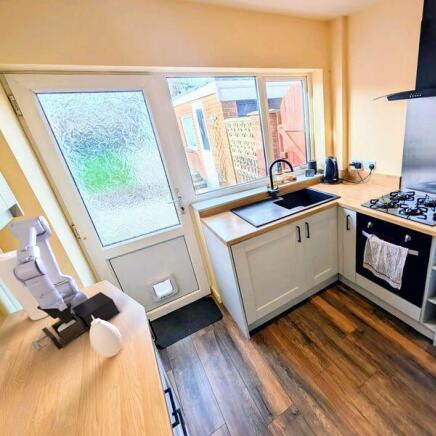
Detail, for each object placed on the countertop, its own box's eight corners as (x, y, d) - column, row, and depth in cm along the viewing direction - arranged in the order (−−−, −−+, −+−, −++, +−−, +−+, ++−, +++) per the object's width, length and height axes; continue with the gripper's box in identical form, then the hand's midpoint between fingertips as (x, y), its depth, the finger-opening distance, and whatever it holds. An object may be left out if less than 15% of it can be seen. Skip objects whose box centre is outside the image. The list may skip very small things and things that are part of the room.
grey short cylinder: (72, 325, 98) (68, 319, 96) (82, 326, 96) (79, 320, 95) (58, 336, 93) (54, 330, 91) (69, 338, 92) (65, 332, 90)
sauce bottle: (130, 351, 86) (108, 313, 78) (104, 368, 81) (78, 329, 73) (123, 339, 91) (102, 302, 83) (98, 354, 86) (74, 317, 78)
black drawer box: (91, 331, 96) (82, 317, 93) (80, 322, 101) (71, 308, 98) (119, 312, 104) (112, 298, 101) (107, 304, 109) (100, 291, 106)
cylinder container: (26, 323, 104) (-18, 265, 91) (35, 309, 112) (-5, 254, 99) (54, 313, 108) (15, 256, 95) (61, 300, 115) (25, 246, 103)
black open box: (44, 360, 85) (35, 348, 83) (35, 349, 90) (26, 338, 87) (88, 330, 96) (82, 319, 93) (78, 322, 100) (71, 311, 98)
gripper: (68, 287, 87) (86, 315, 92) (46, 280, 92) (64, 307, 98) (44, 301, 81) (64, 330, 87) (22, 293, 87) (43, 321, 92)
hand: (63, 319), depth 92 cm, fingers open, 7 cm apart
